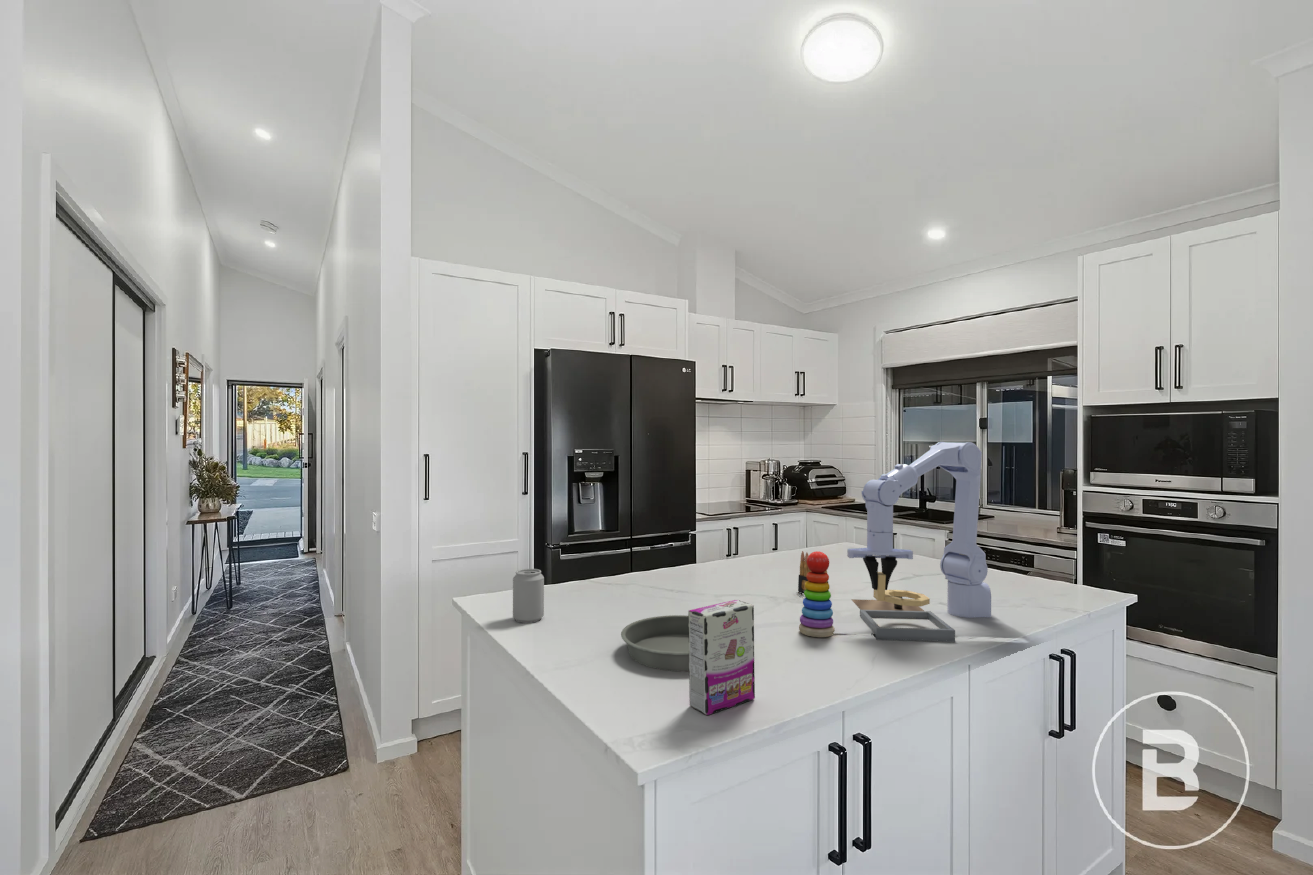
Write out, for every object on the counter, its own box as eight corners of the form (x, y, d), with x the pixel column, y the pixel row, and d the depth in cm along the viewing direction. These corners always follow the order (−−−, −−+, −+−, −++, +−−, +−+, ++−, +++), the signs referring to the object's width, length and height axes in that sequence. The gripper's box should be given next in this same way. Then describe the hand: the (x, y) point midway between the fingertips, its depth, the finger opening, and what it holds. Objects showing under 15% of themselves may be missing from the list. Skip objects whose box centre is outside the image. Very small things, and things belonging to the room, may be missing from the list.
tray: (930, 621, 154) (930, 611, 154) (955, 641, 139) (955, 630, 139) (859, 619, 155) (859, 609, 155) (876, 639, 140) (876, 628, 140)
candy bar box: (735, 690, 112) (736, 598, 112) (755, 699, 108) (756, 604, 108) (686, 705, 106) (687, 608, 106) (706, 716, 102) (706, 615, 102)
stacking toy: (836, 639, 140) (836, 555, 140) (799, 637, 141) (799, 554, 141) (833, 629, 148) (833, 549, 148) (798, 626, 149) (798, 548, 149)
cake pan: (606, 641, 139) (606, 621, 139) (707, 629, 148) (707, 610, 148) (643, 682, 116) (643, 658, 116) (760, 665, 125) (760, 643, 125)
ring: (919, 596, 152) (919, 571, 152) (934, 607, 142) (935, 580, 142) (869, 593, 153) (870, 568, 153) (881, 604, 143) (882, 577, 143)
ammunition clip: (829, 599, 174) (829, 556, 174) (824, 600, 173) (824, 557, 173) (802, 591, 183) (802, 550, 183) (797, 592, 182) (798, 550, 182)
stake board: (911, 604, 169) (911, 600, 169) (930, 619, 155) (930, 615, 155) (851, 602, 170) (851, 599, 170) (864, 618, 156) (864, 614, 156)
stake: (900, 606, 163) (900, 590, 163) (904, 610, 160) (904, 593, 160) (892, 606, 164) (892, 589, 164) (896, 610, 160) (896, 593, 160)
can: (547, 615, 158) (547, 567, 158) (538, 624, 151) (539, 574, 151) (518, 614, 159) (518, 567, 159) (508, 623, 151) (508, 573, 151)
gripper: (906, 528, 151) (905, 585, 151) (844, 527, 152) (844, 584, 152) (916, 533, 144) (915, 592, 144) (851, 532, 145) (851, 591, 145)
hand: (879, 588), depth 147 cm, fingers closed on ring
